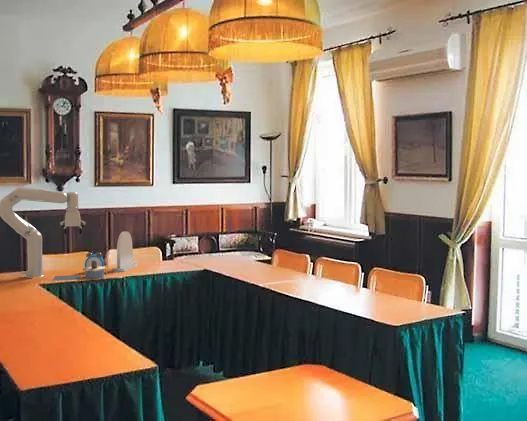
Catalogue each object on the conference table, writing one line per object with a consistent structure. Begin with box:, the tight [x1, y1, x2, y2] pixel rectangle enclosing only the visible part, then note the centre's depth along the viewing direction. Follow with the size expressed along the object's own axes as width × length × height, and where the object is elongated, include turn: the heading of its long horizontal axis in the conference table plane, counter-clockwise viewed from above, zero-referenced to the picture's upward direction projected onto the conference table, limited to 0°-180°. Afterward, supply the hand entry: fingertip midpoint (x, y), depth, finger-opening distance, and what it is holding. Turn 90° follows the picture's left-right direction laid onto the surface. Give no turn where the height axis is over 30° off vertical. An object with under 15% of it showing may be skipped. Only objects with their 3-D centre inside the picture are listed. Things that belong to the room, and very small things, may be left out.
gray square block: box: [84, 270, 105, 280], centre depth 439 cm, size 12×12×6 cm
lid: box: [82, 260, 106, 272], centre depth 439 cm, size 15×15×6 cm
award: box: [112, 231, 139, 273], centre depth 478 cm, size 28×9×28 cm, turn 170°
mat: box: [52, 274, 82, 281], centre depth 436 cm, size 17×17×1 cm
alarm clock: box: [84, 251, 105, 268], centre depth 458 cm, size 13×6×15 cm, turn 99°
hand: (73, 234), depth 452 cm, fingers open, 9 cm apart
